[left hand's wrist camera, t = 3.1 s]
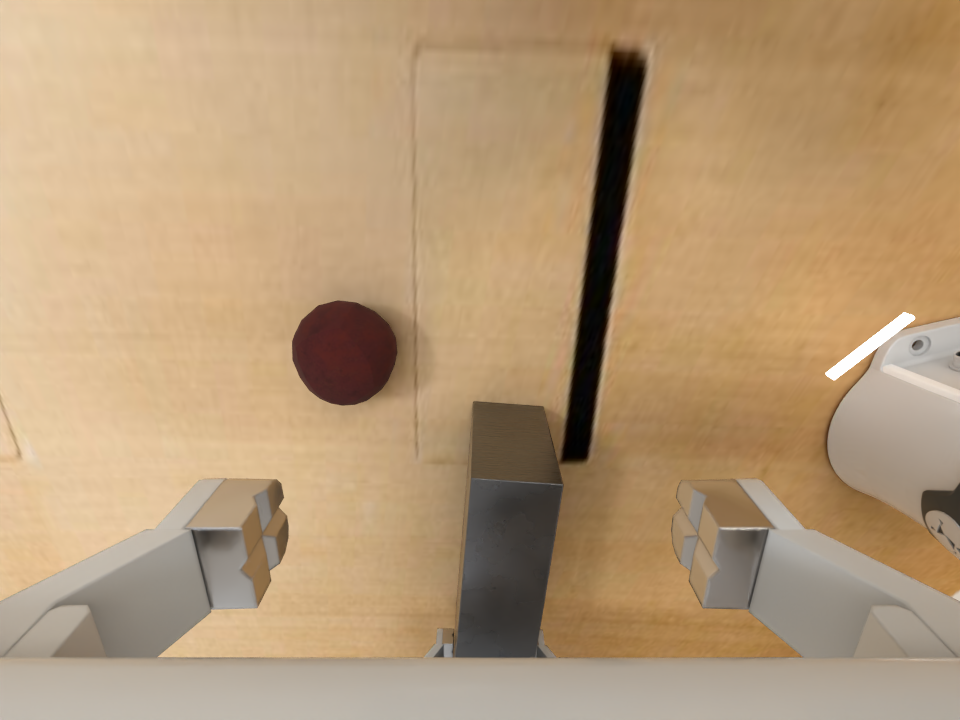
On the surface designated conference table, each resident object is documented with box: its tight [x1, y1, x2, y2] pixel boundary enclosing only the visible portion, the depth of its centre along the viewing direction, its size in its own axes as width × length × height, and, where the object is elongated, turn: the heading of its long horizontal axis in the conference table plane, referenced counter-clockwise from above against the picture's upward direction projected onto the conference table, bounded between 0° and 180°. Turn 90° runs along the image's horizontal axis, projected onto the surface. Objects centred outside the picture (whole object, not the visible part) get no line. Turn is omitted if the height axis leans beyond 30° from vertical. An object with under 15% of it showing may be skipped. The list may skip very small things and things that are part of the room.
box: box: [454, 402, 563, 658], centre depth 42 cm, size 23×6×12 cm, turn 176°
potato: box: [292, 301, 397, 405], centre depth 38 cm, size 7×8×7 cm
